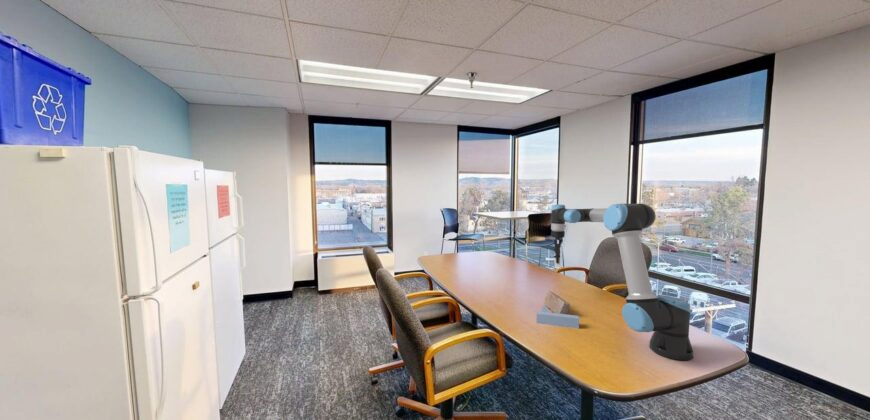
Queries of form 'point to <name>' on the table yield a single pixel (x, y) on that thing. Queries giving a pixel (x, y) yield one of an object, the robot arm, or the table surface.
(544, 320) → the board
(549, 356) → the table surface
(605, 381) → the table surface
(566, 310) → the brick
